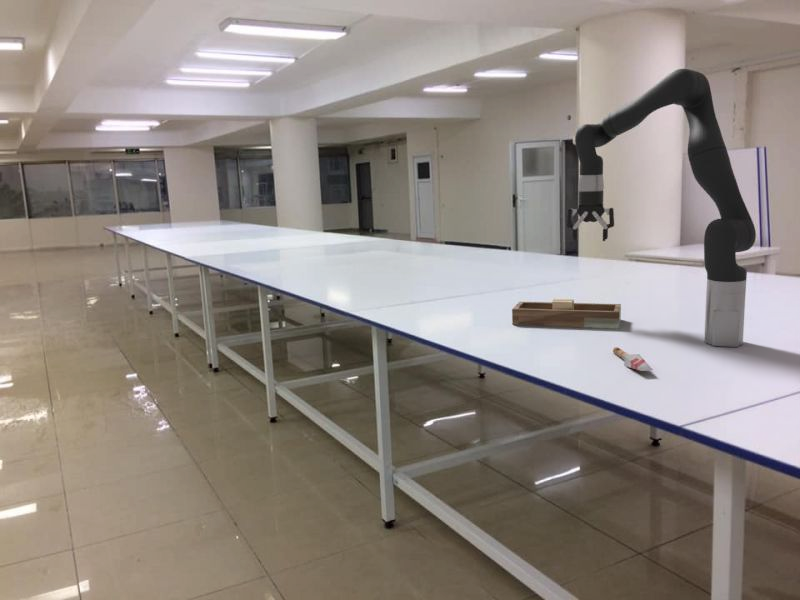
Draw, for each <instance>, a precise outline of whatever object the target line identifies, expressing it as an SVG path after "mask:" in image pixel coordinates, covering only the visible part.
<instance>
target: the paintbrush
mask: <svg viewBox="0 0 800 600" xmlns="http://www.w3.org/2000/svg"><path fill="white" fill-rule="evenodd" d="M612 352H613V354H615V356H617V357H619V358H621V359H622V360H624V361H623V362H624V363H623V366H624V367H626V368H630V369H634V370H636V371H641V372H644V371H645V372H646V371H647V372H649V371H654V369H653V368H652V367H651V366H650V364H649V363H648V362H647V361H646V360H645V358H643V357H642V356H641V355H640V354H639V353H637V354H636V353H634V354H632V353H631V354H629V353H627V352H626V351H624V350H623V349H622V348H620V347H618V346H617V347H616V346H615V347H613V349H612Z"/></svg>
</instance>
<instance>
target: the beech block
mask: <svg viewBox="0 0 800 600" xmlns="http://www.w3.org/2000/svg"><path fill="white" fill-rule="evenodd" d="M551 302H552V309H558V310H574V303H575V300H574V298H554V299H553V300H552V301H551Z"/></svg>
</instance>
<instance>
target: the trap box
mask: <svg viewBox="0 0 800 600" xmlns="http://www.w3.org/2000/svg"><path fill="white" fill-rule="evenodd" d="M552 302H553V301H550V302H549V301H548V302H547V301H545V302H544V301H519V302H518V303H516V305H514V307H513V308H512V309H511V313H512V314H511V315H512V316H511V318H512V319H511V320H512V321H511V323H512V325H514V326H517V325H518V326H541V327H542V326H544V327H564V326H565V327H567V326H568V328H570V327H571V328H572V327H573V328H589V327H591V328H590V329H592V328H595V329H617V330H618V329H620V324H621V321H622V320H621V318H622V316H621V315H622V312H621V310H622V304H621V303H595V302H593V303H590V302H588V303H587V302H585V303H584V302H574V310H558V309H552ZM565 327H564V328H565Z"/></svg>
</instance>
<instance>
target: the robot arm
mask: <svg viewBox="0 0 800 600" xmlns="http://www.w3.org/2000/svg"><path fill="white" fill-rule="evenodd" d="M711 90H712V89H711V86H710V82H709V80H708V78H707V77H706V75H704V74H703V73H701V72H700V71H696V70H692V69H689V68H678V69H676V70H674V71H673V72H670V73H669V74H668V75H666V76H665V77H664V78H663V79H661V80H660V81H659V82H657V83H656V84H655V85H653V86H652V87H650V88H649V89H648V90H646V91H645V92H644V93H641V95H639V96H638V97H637V98H635V99H634V100H632V101H630V102H629V103H626V104H624V105H623V106H621V107H619V108H617V109H615V110H614V111H612V112H610V113H608V114H607V115H606V116H604V117H603V119H602V122H599V123H595V124H594V123H592V124H589V123H588V124H587V123H586V124H582V125H581V126H579V127H578V129H577V130H576V133H575V136H574V142H575V149H576V153H577V157H578V161H579V177H578V206H577V208H576V209H575V208H568V211H567V219H566V220H567V221H566V222H567V223H566V227H567V228H570V229H572V239H573V240H574V242H578V241H579V229H578V228H579V227H580V226H581V224H582V223H583V222H585V223H589V222H592V223H596V222H598V223H599V225H601V227H602V242H606V240H608V236H609V230H610V228H614V226H615V212H614V207H610V208H609V207H607V208H605V207H604V190H605V185H604V183H605V182H604V159H603V156H601V155H598V154H597V150H596V149H597V148H600V147H603V146H605V145H607V144H608V143H610V142H611V141H613V140H614V139H616V137H618V136H620V135H622V134H624V133H626V132H629V131H630V130H632V129H634V128H636V127H637V126H639V125H641V123H643V122H644V120H645V119H646V118H647V117H648V116H650V114H652V113H654V112H656V111H657V110H659V109H661V108H665V107H668V106H670V105H677V106H681V107H682V109H683V111H684V114H685V117H686V119H687V122H688V128H689V135H688V143H687V158H688V161H689V165H690V169H691V172H692V175H693V177H694V180H695V181H696V182H697V184H698V185H699V186H700V187H701V188H702V189H703V191H704V192H705V193H706V194H707V195H708V196H709V197H710V198H711V199H712V201H713V203H715V205H716V208H717V210H718V213H719V215H720V218H716V219H713V220H712V221H710V222H709V224H707V226H706V229H705V232H704V236H703V237H704V238H703V254H704V255H703V256H704V257H703V260H704V261H703V262H704V268H705V271H706V291H705V293H706V295H705V316H704V317H705V318H704V337H703V339H704V340H703V341H704V342H705V343H706V344H708V345H711V346H713V347H732V348H739V346H741V345H743V343H744V331H745V330H744V329H745V310H746V308H745V307H746V295H747V294H746V292H747V279H748V278H747V277H748V276H747V274H748V273H747V272H748V271H747V269H746V268H745V267H743V266H740V264H739V265H738V263H737V257H736V256H737V253H741V252H746V251H748V250H750V249H751V248H752V247H753V246H754V245H755V242H756V237H757V235H756V234H757V233H756V232H757V231H756V228H755V224H754V222H753V218H752V217H751V215H750V212H749V210H748V208H747V205H746V203H745V201H744V199H743V197H742V194H741V190H740V189H739V186H738V182H737V180H736V176H735V173H734V170H733V167H732V163H731V159H730V156H729V153H728V150H727V149H728V148H727V146H726V143H725V141H724V139H723V135H722V132H721V128H720V125H719V121H718V119H717V115H716V113H715V112H716V111H715V108H714V102H713V97H712V91H711ZM576 213H577V215H578V216H579V218H578V220H576V222H575V223H574V224H573V217H574V216H575V215H576ZM604 213H606V215H607V216H608V217H609V218H608V219H609V223H608V224H607V222H606V221H605V220H604V218H603V217H602V216H603V215H604Z"/></svg>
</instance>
